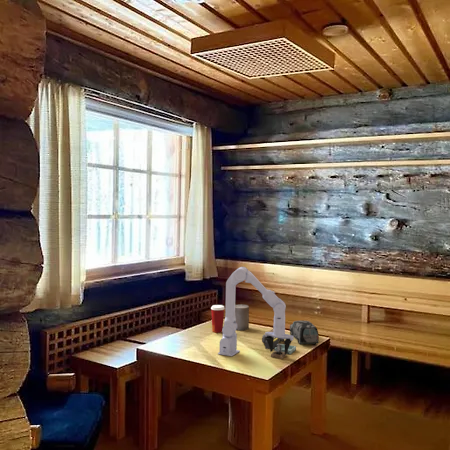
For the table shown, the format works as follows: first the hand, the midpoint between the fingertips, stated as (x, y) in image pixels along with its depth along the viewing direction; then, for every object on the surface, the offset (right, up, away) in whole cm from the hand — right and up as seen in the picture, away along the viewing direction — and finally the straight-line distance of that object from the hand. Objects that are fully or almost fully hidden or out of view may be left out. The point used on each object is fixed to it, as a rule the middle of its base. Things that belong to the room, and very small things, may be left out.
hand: (278, 352), depth 247 cm
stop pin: (0, -2, 0) cm, 2 cm away
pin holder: (0, -2, 0) cm, 2 cm away
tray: (+4, -2, +9) cm, 10 cm away
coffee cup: (-31, +1, +44) cm, 54 cm away
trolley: (0, -1, +25) cm, 25 cm away
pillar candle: (-17, +1, +52) cm, 54 cm away
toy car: (+17, -1, +30) cm, 34 cm away
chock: (-2, -1, +15) cm, 15 cm away
